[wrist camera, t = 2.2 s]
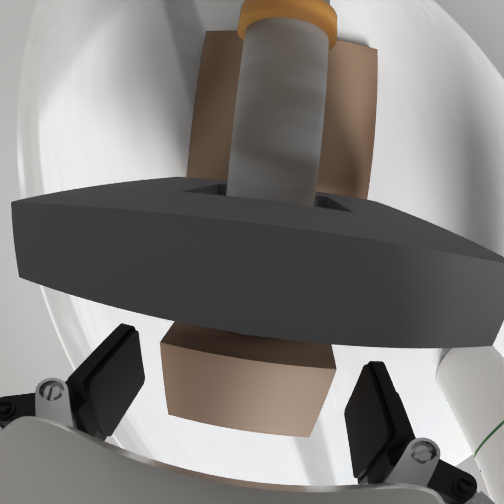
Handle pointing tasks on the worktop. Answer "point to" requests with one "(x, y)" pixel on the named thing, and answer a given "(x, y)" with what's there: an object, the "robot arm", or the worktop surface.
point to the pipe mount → (272, 195)
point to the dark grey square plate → (263, 264)
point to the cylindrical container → (478, 407)
